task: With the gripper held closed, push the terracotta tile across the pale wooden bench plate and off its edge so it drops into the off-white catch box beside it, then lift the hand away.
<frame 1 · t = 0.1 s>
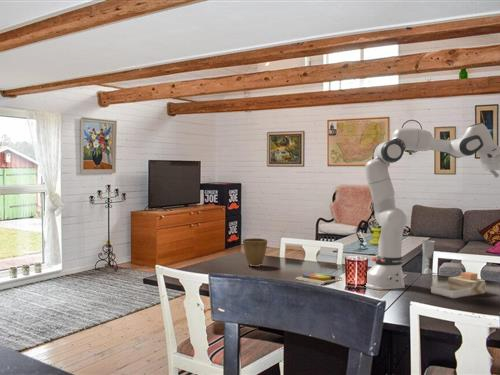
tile: (469, 278, 223), point 6 cm above the table, touching bench plate
wooden puzzle: (318, 281, 246), on the table
plant pot: (255, 266, 285), on the table
chalice: (427, 273, 267), on the table
catch box: (450, 294, 216), on the table
bench plate: (466, 291, 222), on the table
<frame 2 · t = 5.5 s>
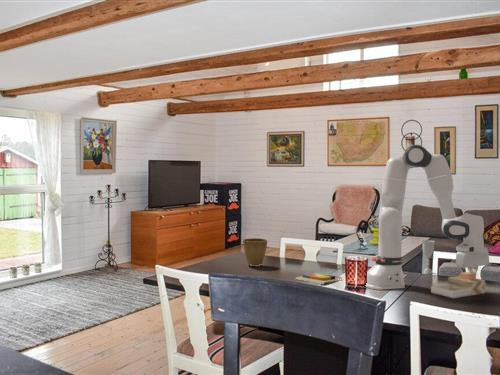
hand: (472, 275, 224), 7 cm above the table, tool pointing down, fingers closed
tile: (467, 278, 222), point 6 cm above the table, touching gripper
everything else where it was.
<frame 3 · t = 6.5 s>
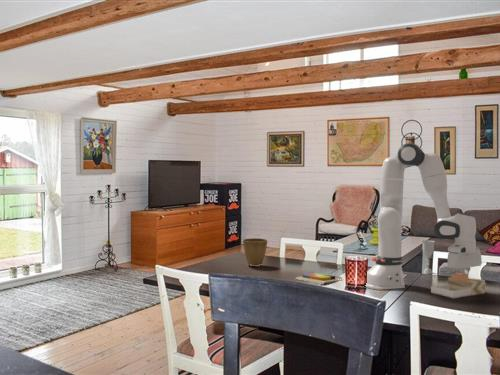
hand: (464, 276, 221), 7 cm above the table, tool pointing down, fingers closed
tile: (459, 279, 219), point 6 cm above the table, touching gripper
everything else where it was.
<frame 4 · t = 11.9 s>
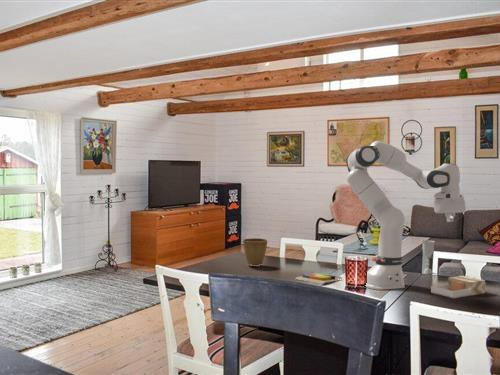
hand: (450, 221, 242), 31 cm above the table, tool pointing down, fingers closed
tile: (459, 286, 219), point 3 cm above the table, tilted 90°, touching catch box
everything else where it was.
at the end: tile inside the target area (5.1 cm from its centre), point 3.0 cm above the table; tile moved 8.0 cm from its start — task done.
